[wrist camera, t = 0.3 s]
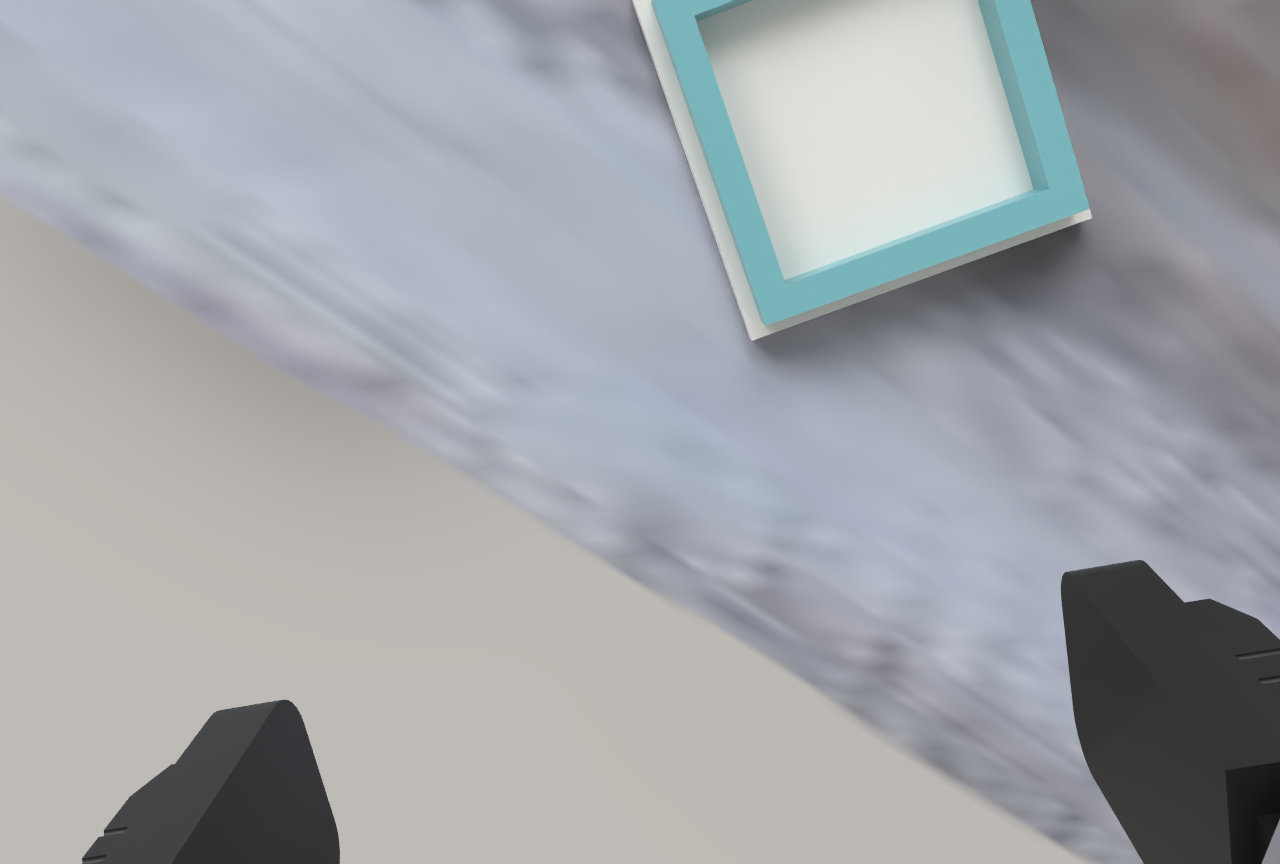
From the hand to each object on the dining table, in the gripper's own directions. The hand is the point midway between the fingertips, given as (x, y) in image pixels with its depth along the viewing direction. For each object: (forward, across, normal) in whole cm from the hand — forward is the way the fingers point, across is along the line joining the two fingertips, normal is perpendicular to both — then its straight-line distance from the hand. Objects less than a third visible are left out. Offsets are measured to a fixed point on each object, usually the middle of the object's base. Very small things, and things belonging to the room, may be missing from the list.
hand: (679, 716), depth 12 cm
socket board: (+29, -7, -4) cm, 30 cm away
